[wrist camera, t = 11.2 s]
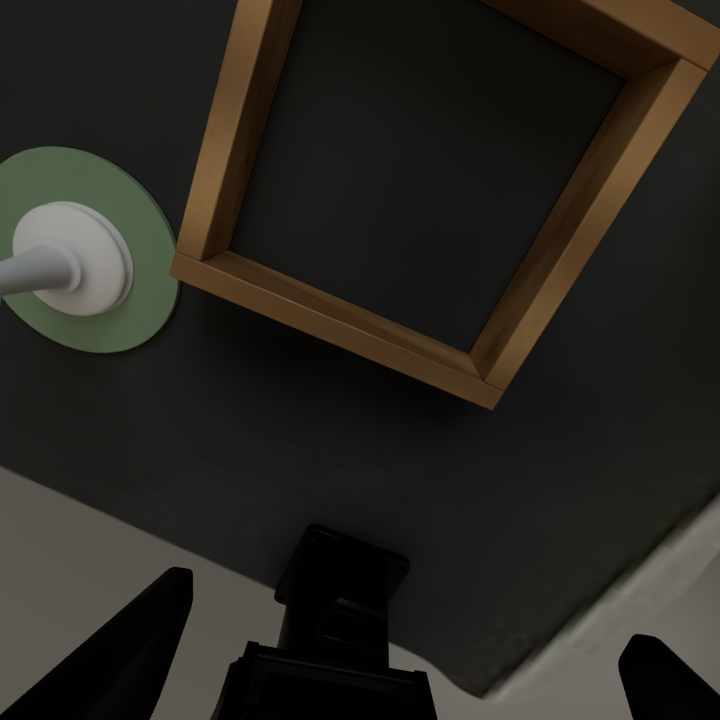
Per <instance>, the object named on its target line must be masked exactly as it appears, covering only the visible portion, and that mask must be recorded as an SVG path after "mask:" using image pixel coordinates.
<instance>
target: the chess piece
mask: <svg viewBox="0 0 720 720" xmlns="http://www.w3.org/2000/svg"><path fill="white" fill-rule="evenodd" d="M13 255H14V257H11V258H9V259H6V260H3V261H0V303H1V296H5V295H10V294H17V293H23V292H31V291H32V292H33V293H34V294H35V295H36V296H37V297H38V298H39V299H41V300H42V301H43V302H45V303H46V304H47V305H49V306H51V307H52V308H54V309H56V310H59V311H61V312H64V313H67V314H71V315H76V316H91V315H96V314H100V313H105V312H108V311H110V310H112V309H114V308H116V307H117V306H118V305H120V304H121V303H122V302H123V301H124V300H125V298H126V297H127V295H128V293H129V291H130V289H131V286H132V282H133V262H132V257H131V254H130V251H129V249H128V246H127V244H126V242H125V240H124V239H123V237H122V235H121V234H120V233H119V231H118V230H117V229H116V228H115V226H114V225H113V224H112V223H111V222H110V221H109V220H108V219H106V218H105V217H104V216H103V215H101V214H100V213H98V212H97V211H95V210H93V209H91V208H89V207H87V206H85V205H82V204H78V203H74V202H67V201H59V202H52V203H49V204H46V205H42V206H39V207H36V208H34V209H32V210H31V211H29V212H28V213H27V214H25V215H24V216H23V218H22V219H21V220H20V221H19V223H18V225H17V227H16V229H15V233H14V237H13Z"/></svg>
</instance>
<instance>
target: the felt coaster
mask: <svg viewBox="0 0 720 720" xmlns="http://www.w3.org/2000/svg"><path fill="white" fill-rule="evenodd" d="M59 201H67V202H74V203H78V204H82V205H85V206H87V207H89V208H91V209H93V210H95V211H97V212H98V213H100V214H101V215H103V216H104V217H105V218H106V219H108V220H109V221H110V222H111V223H112V224H113V225H114V226H115V228H116V229H117V230H118V231H119V233H120V234H121V235H122V237H123V239H124V240H125V242H126V244H127V246H128V249H129V251H130V254H131V257H132V262H133V282H132V286H131V289H130V291H129V293H128V295H127V297H126V298H125V300H124V301H123V302H122V303H121V304H120V305H118V306H117V307H116V308H114V309H112V310H110V311H108V312H105V313H100V314H96V315H91V316H76V315H71V314H67V313H64V312H61V311H59V310H56V309H54V308H52V307H51V306H49V305H47V304H46V303H45V302H43V301H42V300H41V299H39V298H38V297H37V296H36V295H35V294H34V293H33V292H32V291H31V292H23V293H17V294H10V295H5V296H2V298H3V299H4V300H5V302H6V303H7V304H8V305H9V306H10V308H11V309H12V310H13V311H14V312H15V313H16V314H17V315H18V316H19V317H20V318H22V319H23V320H24V321H25V322H26V323H27V324H28V325H30V326H31V327H33V328H34V329H35V330H37V331H38V332H40V333H41V334H43V335H45V336H46V337H48V338H50V339H52V340H54V341H56V342H58V343H60V344H63V345H65V346H68V347H71V348H74V349H78V350H83V351H87V352H97V353H110V352H118V351H124V350H127V349H130V348H133V347H136V346H138V345H140V344H142V343H144V342H145V341H147V340H148V339H150V338H151V337H153V336H154V335H156V334H157V333H158V332H159V331H160V330H161V329H162V328H163V327H164V326H165V324H166V323H167V322H168V320H169V319H170V317H171V315H172V314H173V312H174V310H175V308H176V305H177V302H178V299H179V295H180V290H181V282H182V281H181V280H178V279H176V278H174V277H171V276H169V272H170V268H171V264H172V260H173V256H174V253H175V251H176V245H177V242H176V239H175V236H174V233H173V231H172V229H171V226H170V224H169V222H168V220H167V218H166V217H165V215H164V213H163V212H162V210H161V208H160V207H159V205H158V204H157V203H156V201H155V200H154V199H153V198H152V196H151V195H150V194H149V193H148V192H147V191H146V190H145V189H144V187H143V186H142V185H141V184H140V183H139V182H137V181H136V180H135V179H134V178H133V177H132V176H130V175H129V174H128V173H127V172H125V171H124V170H122V169H121V168H119V167H118V166H116V165H115V164H113V163H111V162H109V161H107V160H105V159H104V158H102V157H99V156H97V155H94V154H91V153H89V152H86V151H81V150H77V149H73V148H65V147H53V146H51V147H38V148H33V149H29V150H25V151H23V152H20V153H18V154H16V155H13V156H12V157H10V158H9V159H7V160H6V161H4V162H3V163H2V164H1V165H0V261H3V260H6V259H9V258H11V257H14V255H13V237H14V233H15V229H16V227H17V225H18V223H19V221H20V220H21V219H22V218H23V216H24V215H25V214H27V213H28V212H29V211H31V210H32V209H34V208H36V207H39V206H42V205H46V204H49V203H52V202H59Z"/></svg>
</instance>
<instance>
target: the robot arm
mask: <svg viewBox="0 0 720 720" xmlns="http://www.w3.org/2000/svg"><path fill="white" fill-rule="evenodd" d="M312 533H316V534H312ZM409 569H410V563H409V560H408V558H406V557H404V556H402V555H399V554H396V553H393V552H391V551H388V550H385V549H382V548H380V547H377V546H374V545H371V544H369V543H366V542H363V541H361V540H358V539H355V538H352V537H350V536H347V535H344V534H341V533H339V532H336V531H333V530H330V529H328V528H325V527H322V526H319V525H315V524H313V525H310V526H308V527H307V529H306V531H305V533H304V535H303V537H302V539H301V541H300V543H299V545H298V547H297V549H296V551H295V553H294V555H293V557H292V559H291V561H290V563H289V565H288V567H287V569H286V571H285V573H284V575H283V577H282V579H281V581H280V583H279V585H278V587H277V588H276V591H275V596H274V599H275V600H276V601H277V602H278V603H281V604H284V605H286V610H285V614H284V620H283V623H282V628H281V632H280V636H279V641H278V645H277V648H274V647H267V646H262V645H259V643H258V642H252V641H248V643H247V646H246V649H245V652H244V655H243V657H239V658H238V661H236V662H233V663H231V664H230V666H229V669H228V672H227V675H226V679H225V682H224V685H223V688H222V691H221V695H220V697H219V700H218V703H217V705H216V708H215V710H214V712H213V714H212V717H211V719H210V720H437V715H436V711H435V707H434V703H433V698H432V694H431V690H430V685H429V681H428V677H427V673H426V672H423V671H417V670H415V671H414V672H410V671H404V670H398V669H393V668H389V652H388V651H389V648H388V647H389V645H388V602H389V600H390V599H391V597H392V596H393V594H394V593H395V591H396V590H397V588H398V587H399V585H400V584H401V582H402V581H403V579H404V578H405V576H406V575H407V573H408V572H409ZM192 602H193V573H192V571H191V570H190V569H186V568H179V567H172V568H170V569H168V570H167V571H166V572H164V574H162V575H161V576H160V577H159V578H158V579H156V580H155V581H154V582H153V583H152V584H151V585H149V586H148V587H147V588H146V589H145V590H144V591H143V592H142V593H140V594H139V595H138V596H137V597H136V598H135V599H133V600H132V601H131V602H130V603H129V604H128V605H126V606H125V607H124V608H123V609H122V610H121V611H119V612H118V613H117V614H116V615H115V616H114V617H113V618H111V619H110V620H109V621H108V622H107V623H106V624H105V625H103V626H102V627H101V628H100V629H99V630H98V631H97V632H95V633H94V634H93V635H92V636H91V637H89V638H88V639H87V640H86V641H85V642H84V643H82V644H81V645H80V646H79V647H78V648H77V649H76V650H74V651H73V652H72V653H71V654H70V655H69V656H67V657H66V658H65V659H64V660H63V661H62V662H61V663H59V664H58V665H57V666H56V667H55V668H54V669H52V670H51V671H50V672H49V673H48V674H47V675H46V676H44V677H43V678H42V679H41V680H40V681H39V682H37V683H36V684H35V685H34V686H33V687H32V688H31V689H29V690H28V691H27V692H26V693H25V694H24V695H22V696H21V697H20V698H19V699H18V700H17V701H15V702H14V703H13V704H12V705H11V706H10V707H9V708H7V709H6V710H5V711H4V712H3V713H2V714H1V715H0V720H150V718H151V715H152V713H153V711H154V709H155V706H156V704H157V702H158V699H159V697H160V694H161V692H162V689H163V686H164V683H165V681H166V678H167V675H168V672H169V669H170V667H171V663H172V661H173V658H174V655H175V652H176V650H177V647H178V644H179V640H180V638H181V635H182V633H183V630H184V627H185V624H186V621H187V618H188V616H189V613H190V610H191V606H192ZM618 664H619V665H618V667H619V672H620V677H621V680H622V683H623V686H624V690H625V694H626V697H627V700H628V703H629V707H630V710H631V714H632V717H633V720H720V695H719V694H718V693H717V692H716V691H715V690H714V689H713V688H712V687H710V686H709V685H708V684H707V683H706V682H705V681H704V680H703V679H702V678H701V677H700V676H698V674H696V673H695V672H694V671H693V670H692V669H691V668H690V667H689V666H688V665H687V664H686V663H685V662H684V661H682V660H681V659H680V658H679V657H678V656H677V655H676V654H675V653H674V652H673V651H672V650H671V649H670V648H669V647H668V646H666V645H665V644H664V643H663V642H662V641H661V640H660V639H658V638H656V637H654V636H648V635H642V634H635V635H633V636H632V638H631V639H630V641H629V643H628V644H627V646H626V648H625V649H624V651H623V653H622V654H621V656H620V658H619V662H618Z"/></svg>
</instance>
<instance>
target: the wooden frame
mask: <svg viewBox="0 0 720 720" xmlns="http://www.w3.org/2000/svg"><path fill="white" fill-rule="evenodd" d="M479 1H481V2H483V3H484V4H486V5H488V6H490V7H492V8H494V9H496V10H497V11H499V12H501V13H503V14H505V15H507V16H509V17H510V18H512V19H514V20H516V21H518V22H520V23H522V24H523V25H525V26H527V27H529V28H531V29H533V30H535V31H536V32H538V33H540V34H542V35H544V36H546V37H548V38H549V39H551V40H553V41H555V42H557V43H559V44H561V45H562V46H564V47H566V48H568V49H570V50H572V51H574V52H575V53H577V54H579V55H581V56H583V57H585V58H587V59H588V60H590V61H592V62H594V63H596V64H598V65H600V66H601V67H603V68H605V69H607V70H609V71H611V72H613V73H614V74H616V75H618V76H620V77H622V78H624V79H626V80H627V82H626V83H625V85H624V86H623V88H622V90H621V92H620V93H619V95H618V97H617V98H616V100H615V102H614V104H613V105H612V107H611V109H610V111H609V112H608V114H607V116H606V118H605V119H604V121H603V123H602V124H601V126H600V128H599V130H598V131H597V133H596V135H595V137H594V138H593V140H592V142H591V144H590V145H589V147H588V149H587V150H586V152H585V154H584V156H583V157H582V159H581V161H580V163H579V164H578V166H577V168H576V169H575V171H574V173H573V175H572V176H571V178H570V180H569V182H568V183H567V185H566V187H565V189H564V190H563V192H562V194H561V195H560V197H559V199H558V201H557V202H556V204H555V206H554V208H553V209H552V211H551V213H550V215H549V216H548V218H547V220H546V221H545V223H544V225H543V227H542V228H541V230H540V232H539V234H538V235H537V237H536V239H535V241H534V242H533V244H532V246H531V247H530V249H529V251H528V253H527V254H526V256H525V258H524V260H523V261H522V263H521V265H520V266H519V268H518V270H517V272H516V273H515V275H514V277H513V279H512V280H511V282H510V284H509V286H508V287H507V289H506V291H505V292H504V294H503V296H502V298H501V299H500V301H499V303H498V305H497V306H496V308H495V310H494V312H493V313H492V315H491V317H490V318H489V320H488V322H487V324H486V325H485V327H484V329H483V331H482V332H481V334H480V336H479V337H478V339H477V341H476V343H475V344H474V346H473V348H472V350H471V351H470V353H469V354H470V355H469V354H467V353H465V352H462V351H460V350H458V349H455V348H453V347H451V346H449V345H446V344H444V343H442V342H439V341H437V340H435V339H432V338H430V337H428V336H425V335H423V334H421V333H418V332H416V331H414V330H411V329H409V328H407V327H404V326H402V325H400V324H398V323H395V322H393V321H391V320H388V319H386V318H384V317H381V316H379V315H377V314H374V313H372V312H370V311H367V310H365V309H363V308H360V307H358V306H356V305H354V304H351V303H349V302H347V301H344V300H342V299H340V298H337V297H335V296H333V295H330V294H328V293H326V292H323V291H321V290H319V289H316V288H314V287H312V286H309V285H307V284H305V283H303V282H300V281H298V280H296V279H293V278H291V277H289V276H286V275H284V274H282V273H279V272H277V271H275V270H272V269H270V268H268V267H265V266H263V265H261V264H259V263H256V262H254V261H252V260H249V259H247V258H245V257H242V256H240V255H238V254H235V253H233V252H231V251H228V248H229V245H230V241H231V238H232V235H233V231H234V228H235V225H236V221H237V218H238V215H239V211H240V208H241V205H242V201H243V198H244V195H245V191H246V188H247V185H248V181H249V178H250V175H251V172H252V168H253V165H254V162H255V158H256V155H257V152H258V148H259V145H260V142H261V138H262V135H263V132H264V128H265V125H266V122H267V118H268V115H269V112H270V108H271V105H272V102H273V98H274V95H275V92H276V88H277V85H278V82H279V78H280V75H281V72H282V68H283V65H284V62H285V59H286V55H287V52H288V49H289V45H290V42H291V39H292V35H293V32H294V29H295V25H296V22H297V19H298V15H299V12H300V9H301V5H302V2H303V0H238V4H237V8H236V12H235V16H234V20H233V24H232V28H231V32H230V36H229V40H228V43H227V47H226V51H225V55H224V59H223V63H222V67H221V71H220V75H219V79H218V83H217V87H216V91H215V95H214V99H213V103H212V107H211V111H210V115H209V119H208V123H207V127H206V131H205V135H204V139H203V142H202V146H201V150H200V154H199V158H198V162H197V166H196V170H195V174H194V178H193V182H192V186H191V190H190V194H189V198H188V202H187V206H186V210H185V214H184V218H183V222H182V226H181V230H180V234H179V238H178V241H177V245H176V251H175V253H174V256H173V260H172V264H171V268H170V272H169V276H171V277H174V278H176V279H178V280H181V281H183V282H185V283H188V284H190V285H193V286H195V287H197V288H200V289H202V290H205V291H207V292H209V293H212V294H214V295H217V296H219V297H221V298H224V299H226V300H229V301H231V302H233V303H236V304H238V305H241V306H243V307H245V308H248V309H250V310H253V311H255V312H257V313H260V314H262V315H264V316H267V317H269V318H272V319H274V320H276V321H279V322H281V323H284V324H286V325H288V326H291V327H293V328H296V329H298V330H300V331H303V332H305V333H308V334H310V335H312V336H315V337H317V338H320V339H322V340H324V341H327V342H329V343H332V344H334V345H336V346H339V347H341V348H343V349H346V350H348V351H351V352H353V353H355V354H358V355H360V356H363V357H365V358H367V359H370V360H372V361H375V362H377V363H379V364H382V365H384V366H387V367H389V368H391V369H394V370H396V371H399V372H401V373H403V374H406V375H408V376H411V377H413V378H415V379H418V380H420V381H423V382H425V383H427V384H430V385H432V386H434V387H437V388H439V389H442V390H444V391H446V392H449V393H451V394H454V395H456V396H458V397H461V398H463V399H466V400H468V401H470V402H473V403H475V404H478V405H480V406H482V407H485V408H487V409H490V410H493V409H494V407H495V406H496V404H497V403H498V401H499V400H500V398H501V396H502V395H503V393H504V390H506V388H507V387H508V385H509V383H510V382H511V380H512V379H513V377H514V376H515V374H516V373H517V371H518V369H519V368H520V366H521V365H522V363H523V362H524V360H525V358H526V357H527V355H528V354H529V352H530V351H531V349H532V347H533V346H534V344H535V343H536V341H537V340H538V338H539V336H540V335H541V333H542V332H543V330H544V329H545V327H546V325H547V324H548V322H549V321H550V319H551V318H552V316H553V314H554V313H555V311H556V310H557V308H558V307H559V305H560V303H561V302H562V300H563V299H564V297H565V296H566V294H567V293H568V291H569V289H570V288H571V286H572V285H573V283H574V282H575V280H576V278H577V277H578V275H579V274H580V272H581V271H582V269H583V267H584V266H585V264H586V263H587V261H588V260H589V258H590V256H591V255H592V253H593V252H594V250H595V249H596V247H597V245H598V244H599V242H600V241H601V239H602V238H603V236H604V234H605V233H606V231H607V230H608V228H609V227H610V225H611V224H612V222H613V220H614V219H615V217H616V216H617V214H618V213H619V211H620V209H621V208H622V206H623V205H624V203H625V202H626V200H627V198H628V197H629V195H630V194H631V192H632V191H633V189H634V187H635V186H636V184H637V183H638V181H639V180H640V178H641V176H642V175H643V173H644V172H645V170H646V169H647V167H648V165H649V164H650V162H651V161H652V159H653V158H654V156H655V155H656V153H657V151H658V150H659V148H660V147H661V145H662V144H663V142H664V140H665V139H666V137H667V136H668V134H669V133H670V131H671V129H672V128H673V126H674V125H675V123H676V122H677V120H678V118H679V117H680V115H681V114H682V112H683V111H684V109H685V107H686V106H687V104H688V103H689V101H690V100H691V98H692V96H693V95H694V93H695V92H696V90H697V89H698V87H699V86H700V84H701V82H702V81H703V79H704V78H705V76H706V75H707V71H709V70H710V68H711V67H712V65H713V64H714V62H715V61H716V59H717V57H718V56H719V54H720V29H719V28H717V27H715V26H713V25H712V24H710V23H708V22H706V21H705V20H703V19H701V18H699V17H698V16H696V15H694V14H692V13H691V12H689V11H687V10H685V9H684V8H682V7H680V6H678V5H677V4H675V3H673V2H671V1H670V0H479Z"/></svg>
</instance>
